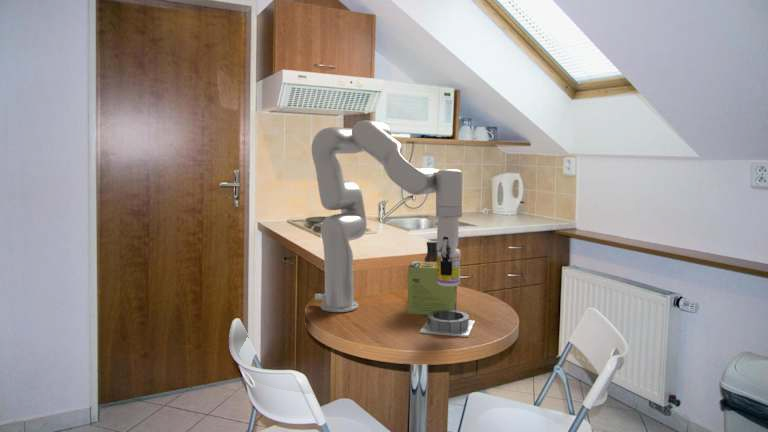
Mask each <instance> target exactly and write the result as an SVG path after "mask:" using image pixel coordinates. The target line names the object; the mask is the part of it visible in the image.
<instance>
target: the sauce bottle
mask: <svg viewBox="0 0 768 432" xmlns="http://www.w3.org/2000/svg"><path fill="white" fill-rule="evenodd" d="M426 248H427V250H426V252H427V253H426V255H425V257H424V262H437V253H438V251H437V240H427V241H426Z"/></svg>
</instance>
